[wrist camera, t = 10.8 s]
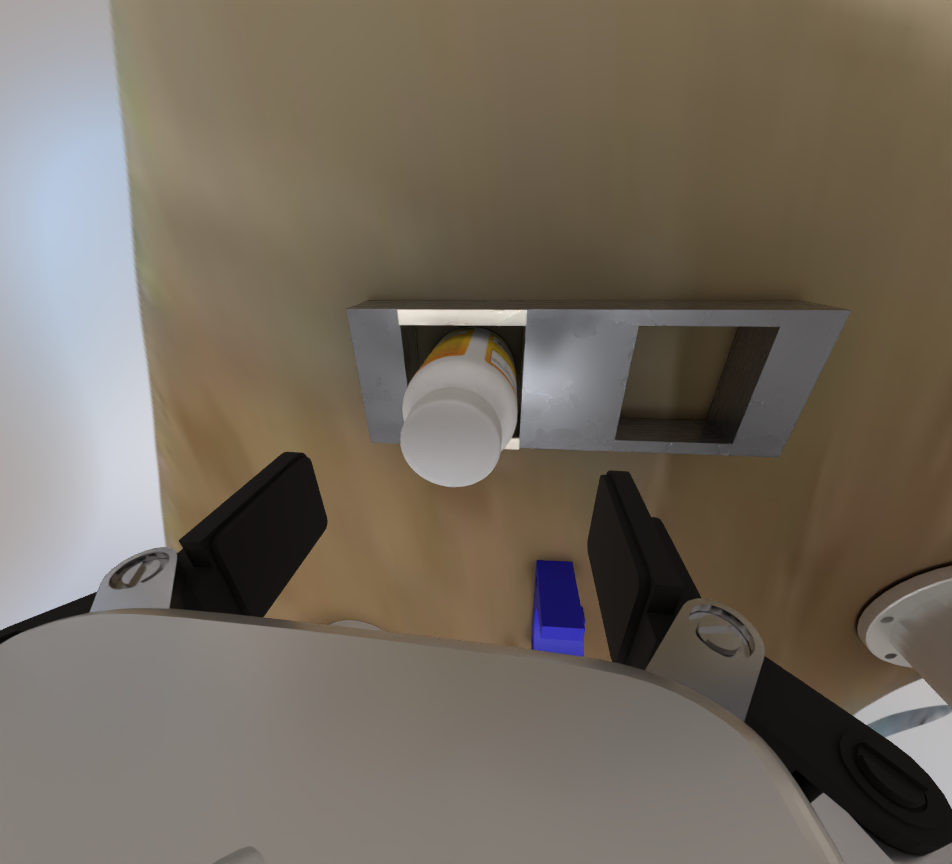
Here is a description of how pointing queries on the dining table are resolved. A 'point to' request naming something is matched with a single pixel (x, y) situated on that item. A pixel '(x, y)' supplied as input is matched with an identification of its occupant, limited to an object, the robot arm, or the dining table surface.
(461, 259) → the dining table surface
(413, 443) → the supplement bottle
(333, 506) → the dining table surface
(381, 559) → the dining table surface
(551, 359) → the metal bottle holder tray
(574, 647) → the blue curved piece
